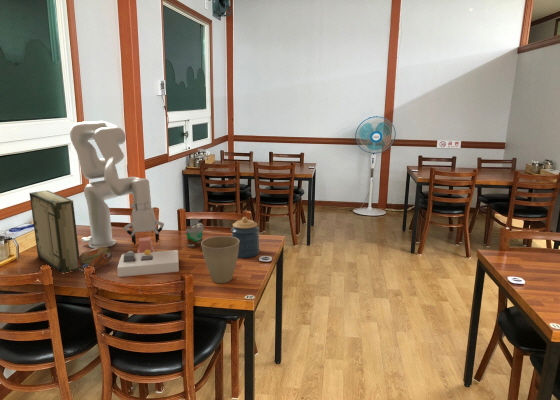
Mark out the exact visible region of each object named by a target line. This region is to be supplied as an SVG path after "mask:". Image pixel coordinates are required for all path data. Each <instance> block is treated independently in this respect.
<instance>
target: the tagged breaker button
mask: <svg viewBox="0 0 560 400" xmlns="http://www.w3.org/2000/svg"><path fill="white" fill-rule="evenodd" d="M146 260H152V255H148V256H142V261H146Z"/></svg>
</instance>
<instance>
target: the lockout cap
mask: <svg viewBox="0 0 560 400" xmlns="http://www.w3.org/2000/svg"><path fill="white" fill-rule="evenodd" d="M154 247H155V246H152V237H150V236H148V237H139V238H138V249H137V251H136V253H145V250H150V252H155V251H154V250H155V248H154Z"/></svg>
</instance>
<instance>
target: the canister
mask: <svg viewBox="0 0 560 400" xmlns="http://www.w3.org/2000/svg"><path fill="white" fill-rule="evenodd" d="M230 231H231V237H235V238H237V239H239V251H238V257H237V258H241V259H242V258H243V259H248V258H254V257H256V256H258V255H260V249H261V248H260V234H259V231H260V227H258V223H257V222H256V221H254V220H252V219H248V217H247V216H242V218H241V219H239V220H236V221H235V222H234V223H232V228H230Z"/></svg>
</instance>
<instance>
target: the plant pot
mask: <svg viewBox="0 0 560 400" xmlns="http://www.w3.org/2000/svg"><path fill="white" fill-rule="evenodd" d="M231 236H232V235H231ZM231 236H230V235H229V236H228V235H216V236H211V237H207V238H204V239H202V242H201V246H200V247H201V250H202V254H203V258H204V262H205V264H206V268H207V271H208V272H209V275H210V277H211V279H212V282H213V283H217V284H226V283H229V282H230V281H232V279H233V275H234V272H235V269H236V266H237V261H238V258H239V257H238V251H239V239H237V238H235V237H231Z"/></svg>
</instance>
